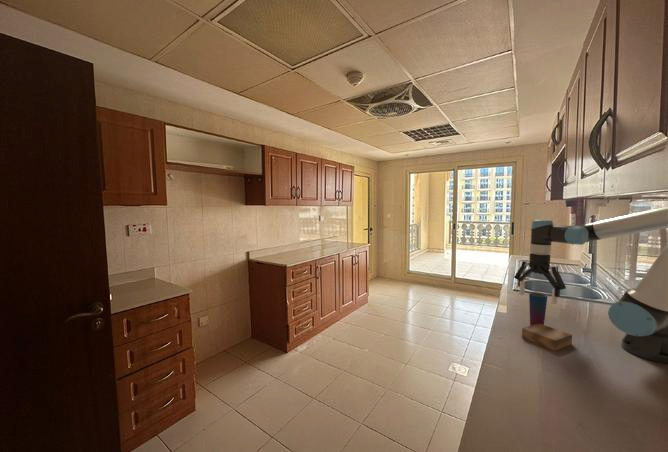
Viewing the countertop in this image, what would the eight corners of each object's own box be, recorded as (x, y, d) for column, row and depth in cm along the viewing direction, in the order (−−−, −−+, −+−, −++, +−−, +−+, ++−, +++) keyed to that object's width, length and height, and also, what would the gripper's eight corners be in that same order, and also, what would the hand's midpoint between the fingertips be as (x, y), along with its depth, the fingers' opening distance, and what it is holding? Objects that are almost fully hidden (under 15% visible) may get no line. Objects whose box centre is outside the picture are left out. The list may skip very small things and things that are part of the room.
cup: (539, 323, 128) (541, 292, 127) (549, 329, 121) (551, 297, 120) (524, 322, 129) (525, 292, 128) (533, 328, 122) (535, 296, 121)
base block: (571, 344, 108) (572, 334, 108) (554, 350, 103) (555, 340, 103) (538, 332, 119) (539, 323, 119) (521, 337, 114) (522, 328, 114)
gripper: (578, 257, 113) (574, 306, 115) (517, 248, 136) (514, 289, 137) (568, 258, 110) (564, 309, 112) (507, 249, 133) (505, 291, 134)
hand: (537, 298), depth 125 cm, fingers open, 13 cm apart
